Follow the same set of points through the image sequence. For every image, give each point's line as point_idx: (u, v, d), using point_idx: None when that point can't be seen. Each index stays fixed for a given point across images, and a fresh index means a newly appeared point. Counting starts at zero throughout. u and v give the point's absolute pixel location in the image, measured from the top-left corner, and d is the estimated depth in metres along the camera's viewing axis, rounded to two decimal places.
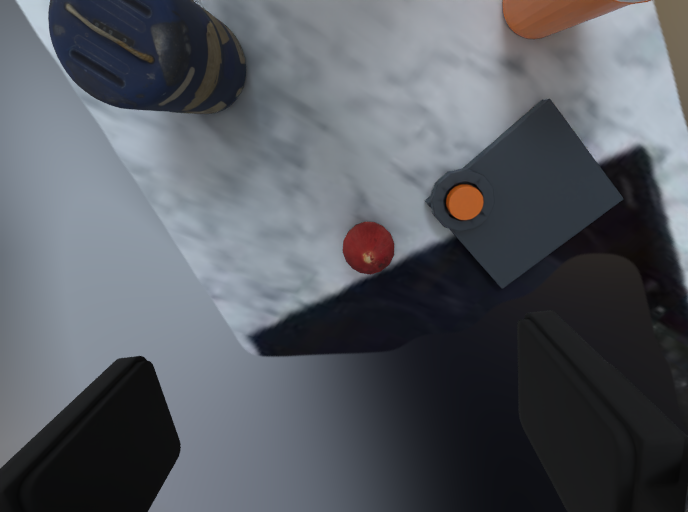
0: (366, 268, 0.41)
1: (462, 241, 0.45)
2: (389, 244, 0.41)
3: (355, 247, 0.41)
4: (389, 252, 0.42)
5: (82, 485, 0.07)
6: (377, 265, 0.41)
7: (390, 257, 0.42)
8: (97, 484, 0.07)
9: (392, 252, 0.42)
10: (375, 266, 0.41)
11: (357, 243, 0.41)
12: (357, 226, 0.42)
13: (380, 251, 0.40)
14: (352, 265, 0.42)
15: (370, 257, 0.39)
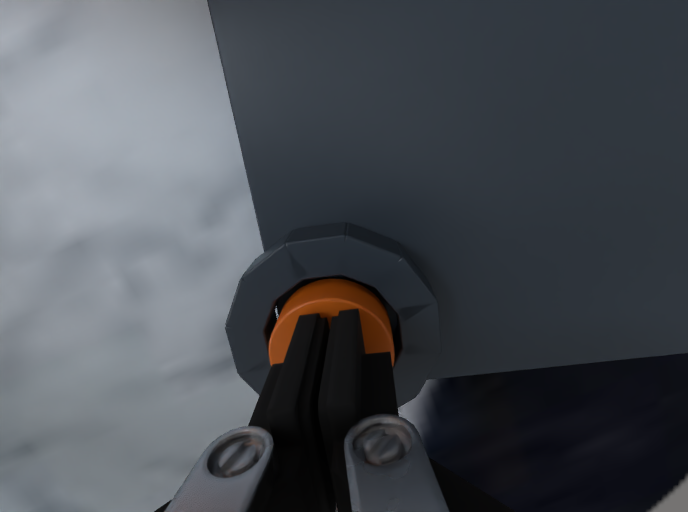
0: None
1: (461, 372, 0.14)
2: None
3: None
4: None
5: None
6: None
7: None
8: None
9: None
10: None
11: None
12: None
13: None
14: None
15: None
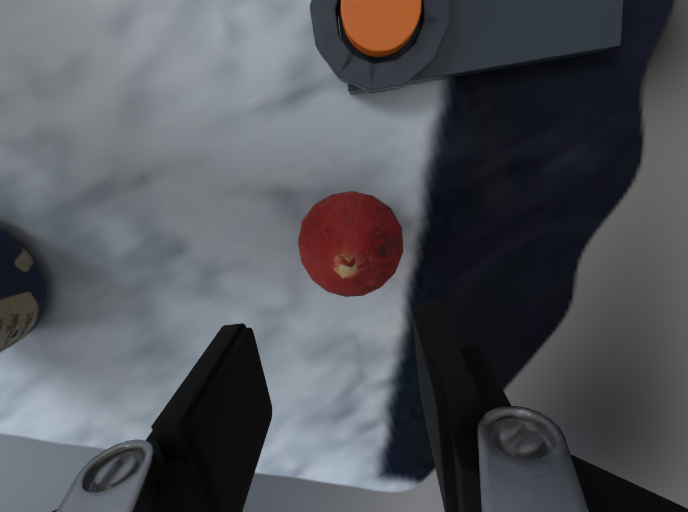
0: (369, 280, 0.19)
1: (463, 68, 0.20)
2: (358, 208, 0.19)
3: (319, 271, 0.20)
4: (373, 217, 0.19)
5: (222, 428, 0.08)
6: (376, 256, 0.19)
7: (385, 223, 0.20)
8: (229, 429, 0.08)
9: (380, 213, 0.20)
10: (374, 262, 0.19)
11: (314, 262, 0.20)
12: (299, 238, 0.21)
13: (354, 235, 0.18)
14: (352, 294, 0.21)
15: (344, 262, 0.18)
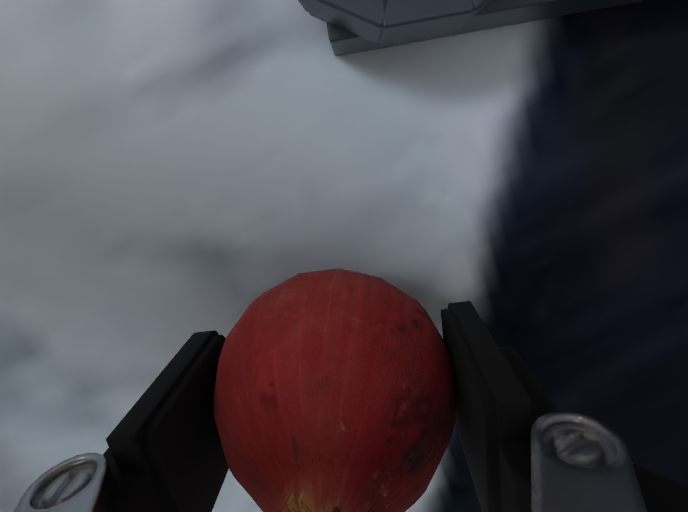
0: None
1: None
2: (351, 336, 0.07)
3: (250, 495, 0.08)
4: (392, 361, 0.07)
5: (184, 439, 0.08)
6: (399, 479, 0.07)
7: (419, 370, 0.08)
8: (193, 440, 0.08)
9: (407, 341, 0.08)
10: (395, 496, 0.07)
11: (237, 473, 0.08)
12: None
13: (339, 428, 0.07)
14: None
15: None
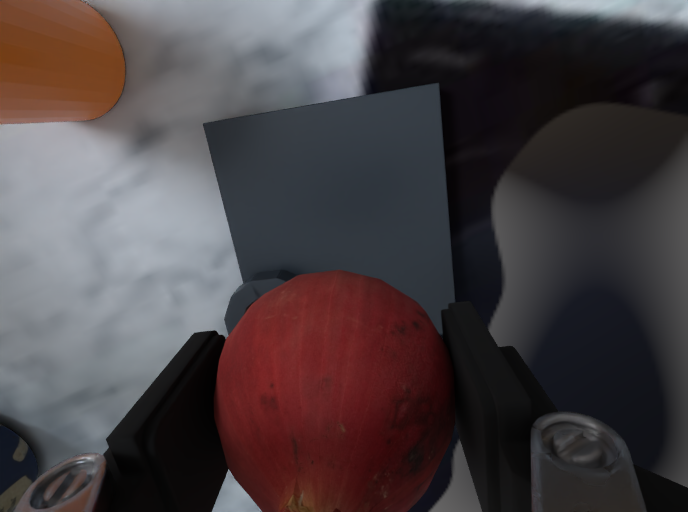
0: None
1: None
2: (352, 337, 0.07)
3: (250, 496, 0.08)
4: (392, 363, 0.07)
5: (185, 439, 0.08)
6: (399, 480, 0.07)
7: (419, 372, 0.08)
8: (193, 440, 0.08)
9: (407, 343, 0.08)
10: (396, 497, 0.07)
11: (237, 474, 0.08)
12: None
13: (339, 430, 0.07)
14: None
15: None
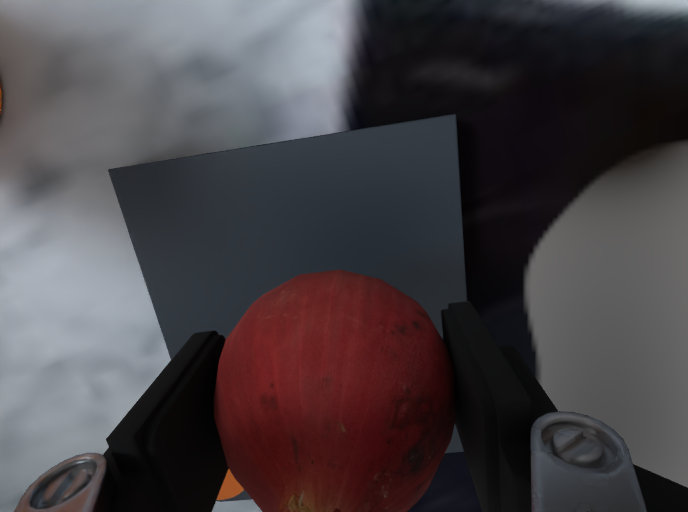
0: None
1: None
2: (352, 337, 0.07)
3: (250, 496, 0.08)
4: (392, 362, 0.07)
5: (184, 439, 0.08)
6: (399, 480, 0.07)
7: (420, 371, 0.08)
8: (193, 440, 0.08)
9: (407, 343, 0.08)
10: (396, 497, 0.07)
11: (238, 475, 0.08)
12: None
13: (339, 429, 0.07)
14: None
15: None
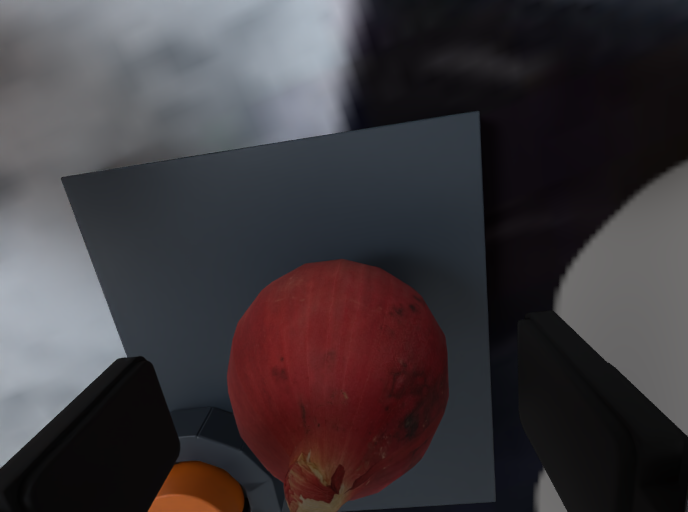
0: (380, 488, 0.08)
1: None
2: (354, 317, 0.08)
3: (262, 461, 0.08)
4: (390, 340, 0.08)
5: (82, 485, 0.07)
6: (396, 443, 0.08)
7: (415, 349, 0.08)
8: (97, 484, 0.07)
9: (404, 323, 0.09)
10: (393, 458, 0.08)
11: (250, 441, 0.08)
12: None
13: (343, 397, 0.07)
14: None
15: (312, 491, 0.07)
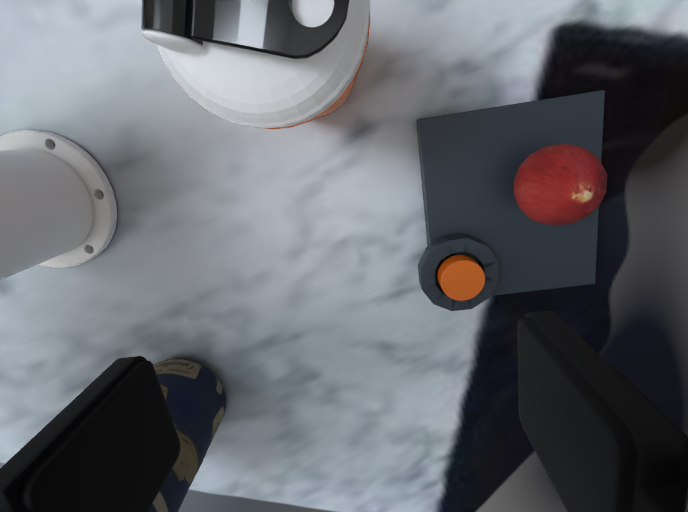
0: (591, 207, 0.26)
1: (503, 292, 0.35)
2: (582, 152, 0.26)
3: (551, 201, 0.26)
4: (594, 160, 0.26)
5: (82, 485, 0.07)
6: (600, 187, 0.25)
7: (600, 165, 0.26)
8: (97, 484, 0.07)
9: (595, 157, 0.26)
10: (600, 192, 0.25)
11: (547, 194, 0.26)
12: (520, 180, 0.28)
13: (587, 171, 0.25)
14: (567, 221, 0.27)
15: (587, 189, 0.24)
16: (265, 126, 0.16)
